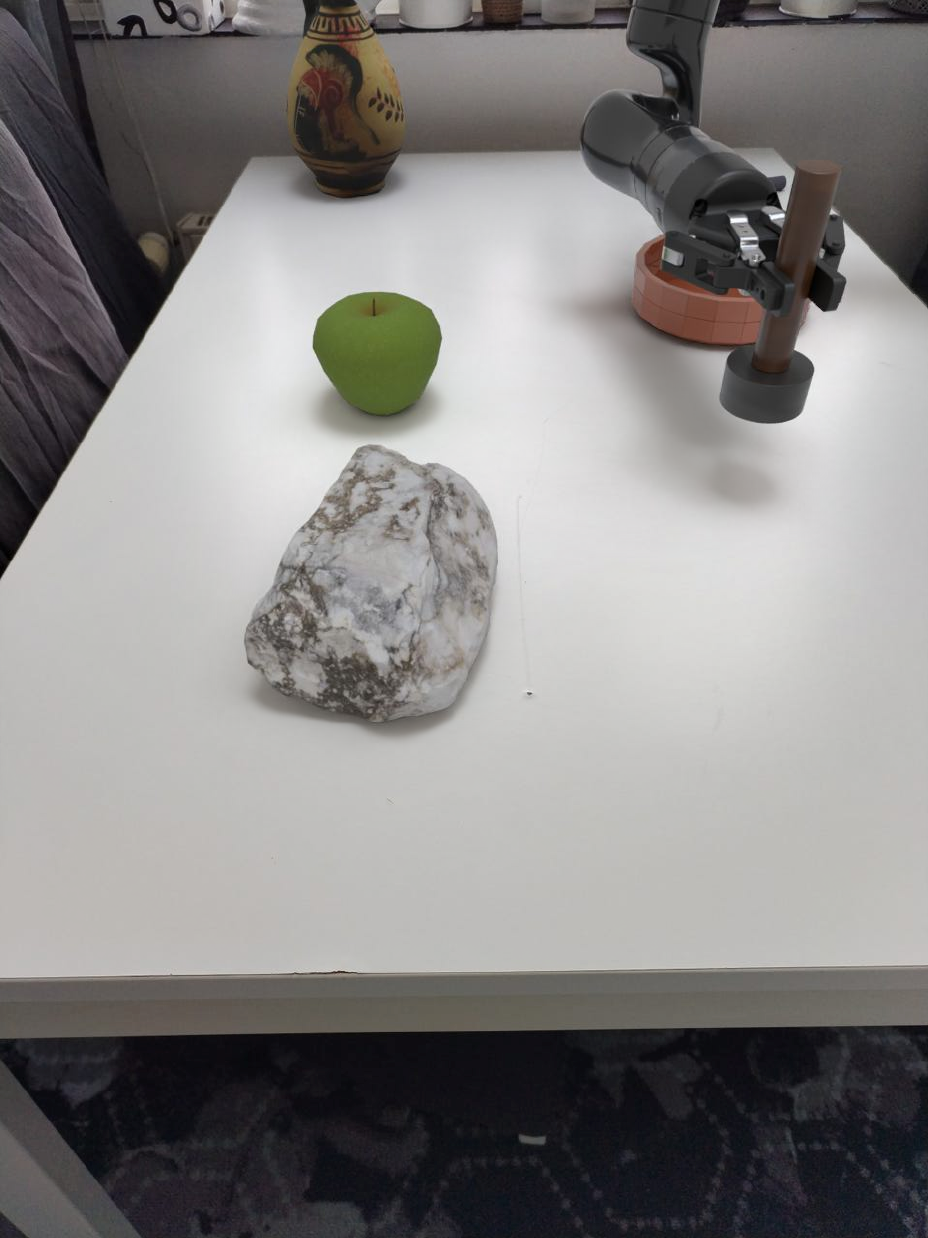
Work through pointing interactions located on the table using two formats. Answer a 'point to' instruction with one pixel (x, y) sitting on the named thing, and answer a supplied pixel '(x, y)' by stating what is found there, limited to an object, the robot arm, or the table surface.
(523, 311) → the table surface
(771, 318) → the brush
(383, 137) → the ceramic jug
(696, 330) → the bowl
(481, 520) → the decorative stone
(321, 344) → the apple
